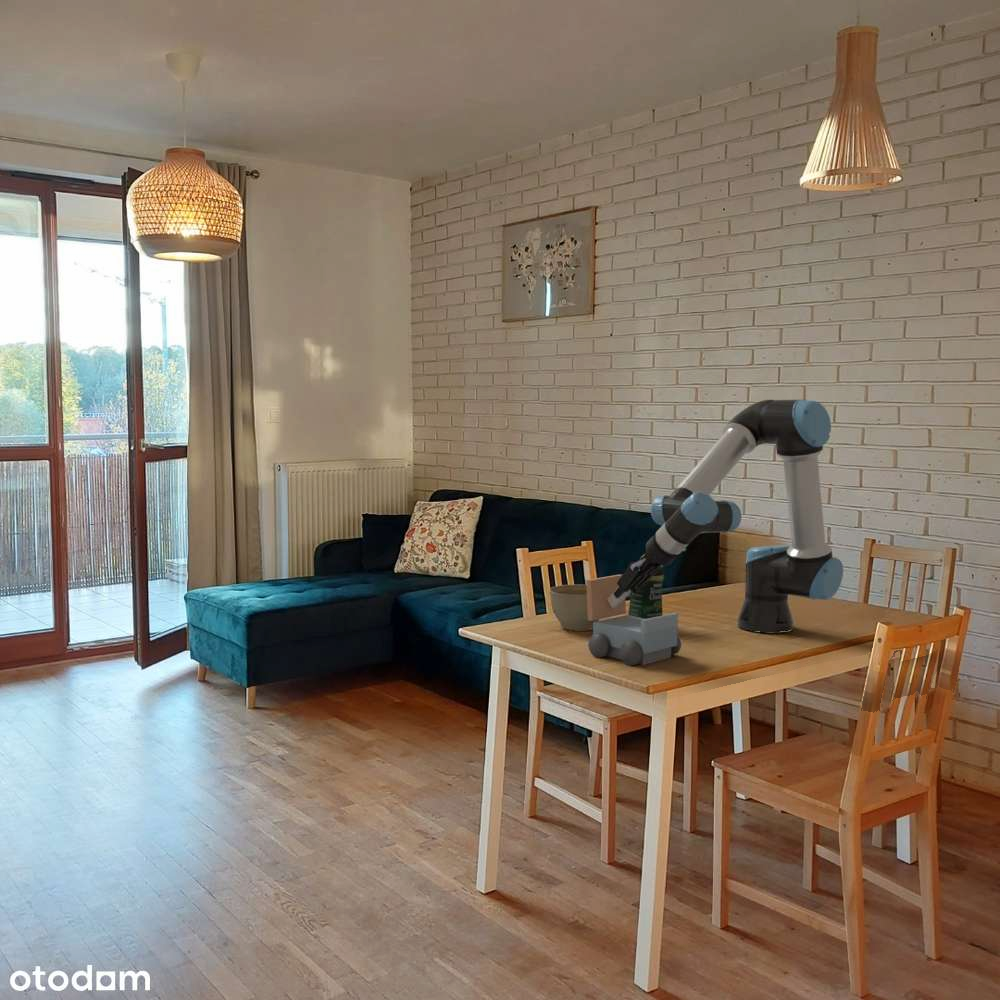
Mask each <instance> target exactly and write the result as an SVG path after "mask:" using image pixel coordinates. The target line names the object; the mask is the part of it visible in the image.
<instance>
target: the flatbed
mask: <svg viewBox="0 0 1000 1000" xmlns="http://www.w3.org/2000/svg"><path fill="white" fill-rule="evenodd" d="M678 618H679V613H678V612H671V613H666V614H663V615H661V616H657V617H652V618H648V619H643V618H639V617H634V616H629V615H628V614H627V615H626V614H625V615H621V616H620V615H619V616H615V617H611V618H605V619H602V620H601V619H600V620H599V621H597V622H593V629H592V630H593V631H592V632H593V633H592V635H591V636H590V637H589V639H588V650H589V652H590V653H591V655H592V656H593V657H595V658H604V657H608V658H609V657H610V658H614V659H618V660H621V661H622V662H623V663H624V664H625V665H627V666H629V667H630V666H635V665H641V666H644V665H648V664H652V663H655V662H660V661H663V660H666V659H670V658H672V656H673V655H676V654H678V653H679V652H680V651H681V647H682V641H681V638H680V637H679V635H678V628H679V625H678V623H679V619H678Z"/></svg>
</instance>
